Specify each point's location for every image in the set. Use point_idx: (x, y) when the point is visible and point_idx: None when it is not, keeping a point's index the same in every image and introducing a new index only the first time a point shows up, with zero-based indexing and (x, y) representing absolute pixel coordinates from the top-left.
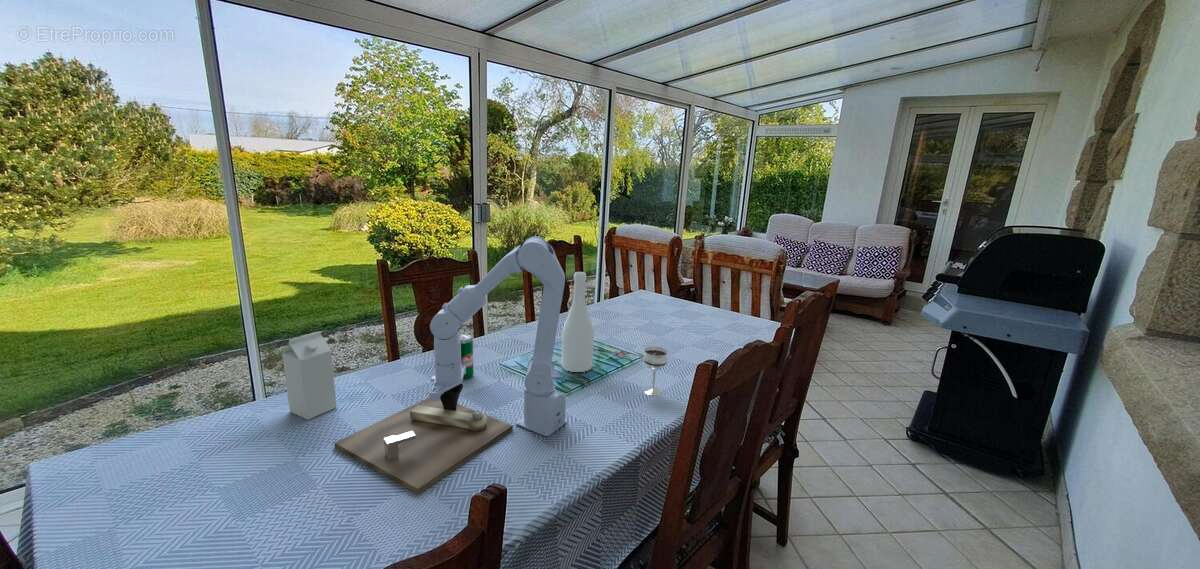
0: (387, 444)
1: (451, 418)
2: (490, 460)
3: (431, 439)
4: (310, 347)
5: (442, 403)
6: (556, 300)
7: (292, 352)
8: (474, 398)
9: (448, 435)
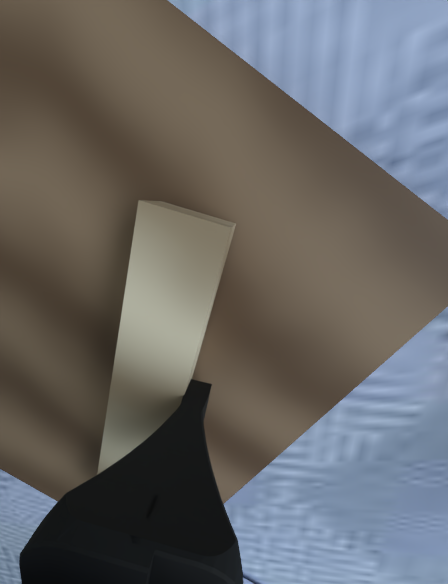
0: None
1: (105, 434)
2: (18, 487)
3: (28, 344)
4: None
5: (162, 424)
6: None
7: None
8: (426, 440)
9: (67, 397)
